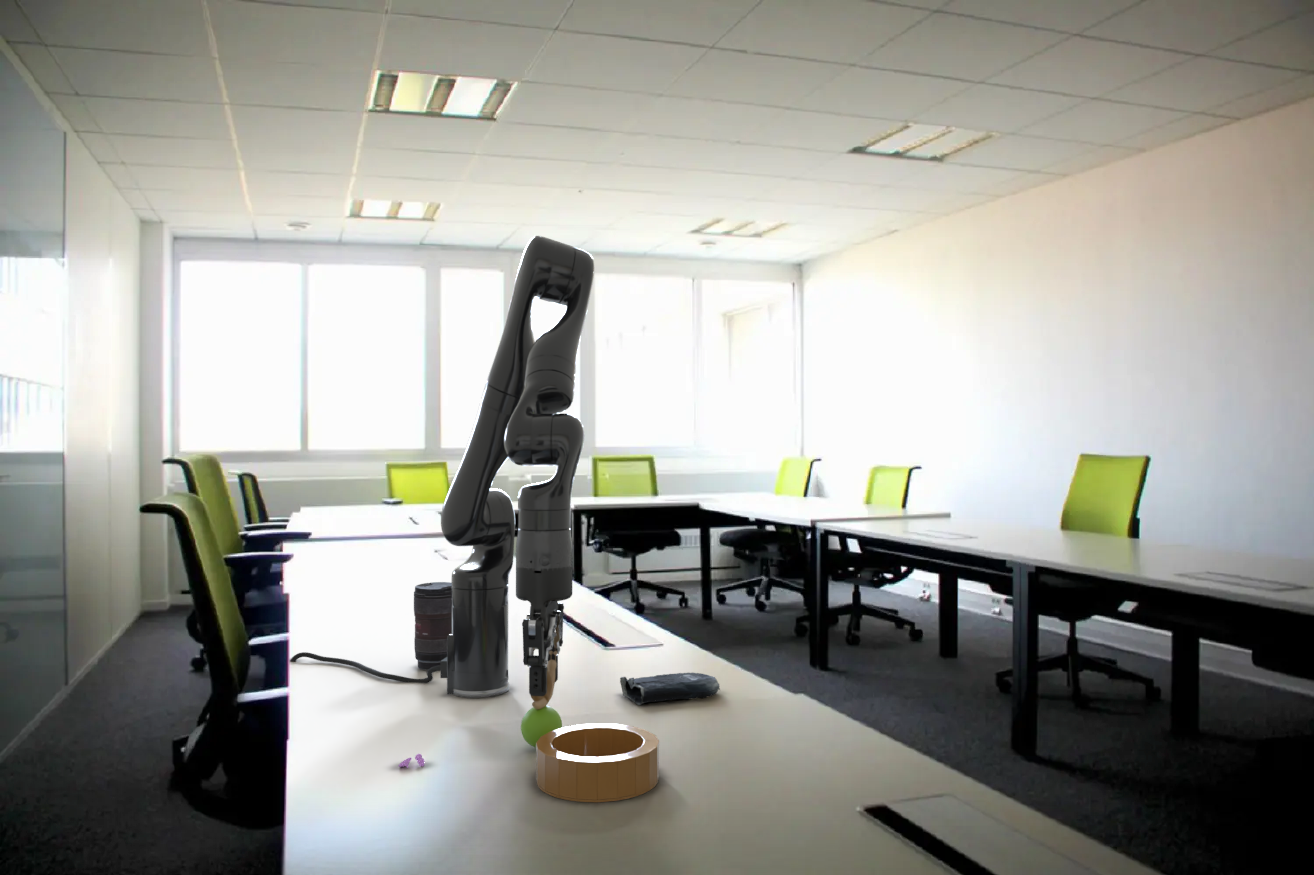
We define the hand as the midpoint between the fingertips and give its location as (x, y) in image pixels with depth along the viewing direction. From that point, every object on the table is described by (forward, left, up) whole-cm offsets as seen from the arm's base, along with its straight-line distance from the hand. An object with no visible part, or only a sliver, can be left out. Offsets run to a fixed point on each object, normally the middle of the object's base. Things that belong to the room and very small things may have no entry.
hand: (543, 688), depth 121 cm
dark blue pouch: (+15, +27, -8) cm, 32 cm away
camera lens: (-30, +43, -8) cm, 53 cm away
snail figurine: (0, 0, -8) cm, 8 cm away
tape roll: (+9, -11, -8) cm, 16 cm away
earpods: (-15, -9, -8) cm, 19 cm away
